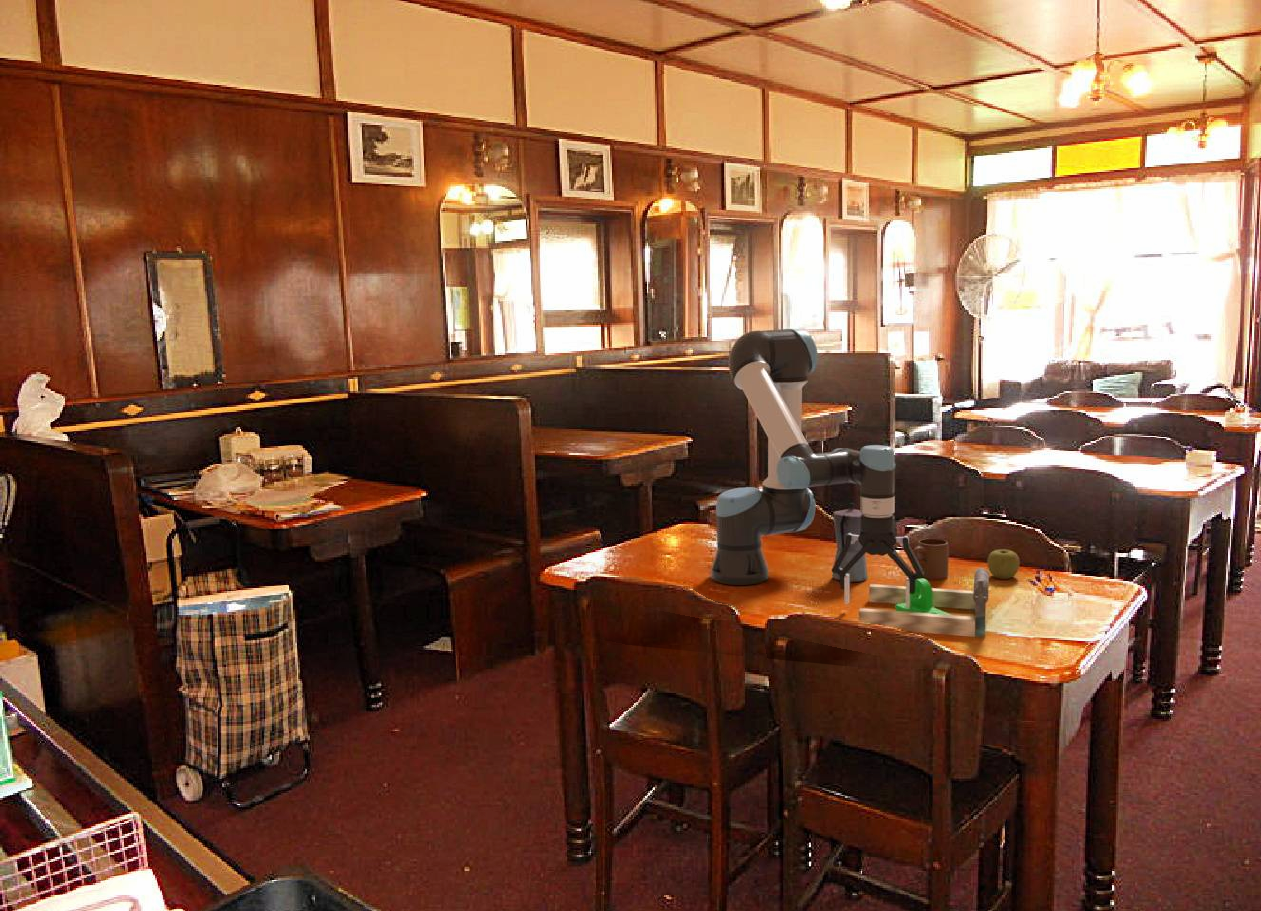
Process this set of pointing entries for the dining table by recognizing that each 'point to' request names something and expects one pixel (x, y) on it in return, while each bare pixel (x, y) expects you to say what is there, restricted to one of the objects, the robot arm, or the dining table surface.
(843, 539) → the moka pot
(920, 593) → the mechanical part
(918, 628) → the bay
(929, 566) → the mug
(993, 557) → the apple
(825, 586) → the dining table surface
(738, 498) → the robot arm
